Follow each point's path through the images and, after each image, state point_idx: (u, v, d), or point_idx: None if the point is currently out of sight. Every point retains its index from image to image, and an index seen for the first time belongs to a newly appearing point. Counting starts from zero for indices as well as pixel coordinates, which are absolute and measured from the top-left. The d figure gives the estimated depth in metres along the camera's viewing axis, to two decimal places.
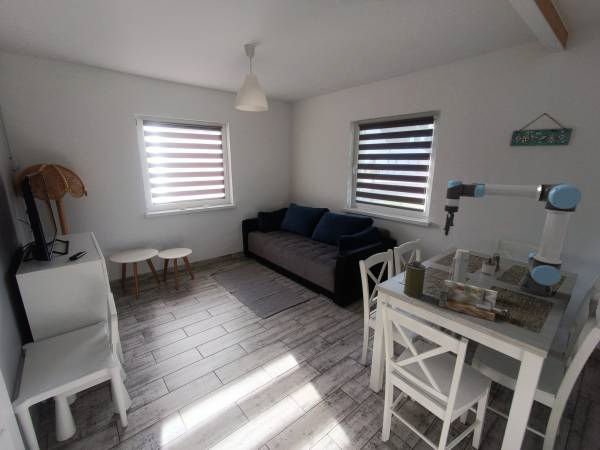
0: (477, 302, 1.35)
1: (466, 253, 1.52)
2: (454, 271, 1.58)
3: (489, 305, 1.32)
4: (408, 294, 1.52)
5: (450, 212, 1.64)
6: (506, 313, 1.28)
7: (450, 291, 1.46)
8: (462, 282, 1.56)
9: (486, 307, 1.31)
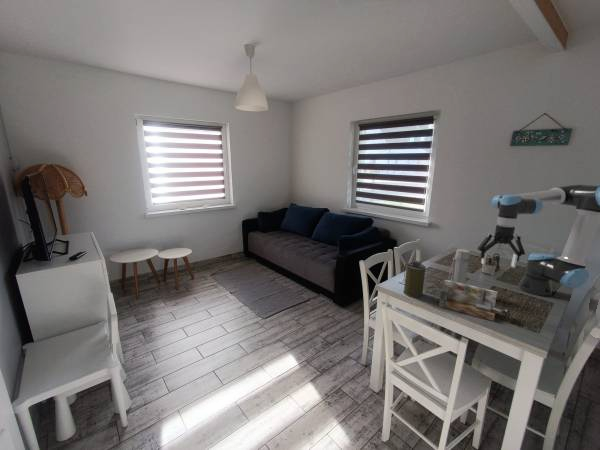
0: (477, 302, 1.35)
1: (466, 253, 1.52)
2: (454, 271, 1.58)
3: (489, 305, 1.32)
4: (408, 294, 1.52)
5: (495, 232, 1.35)
6: (506, 313, 1.28)
7: (450, 291, 1.46)
8: (462, 282, 1.56)
9: (486, 307, 1.31)
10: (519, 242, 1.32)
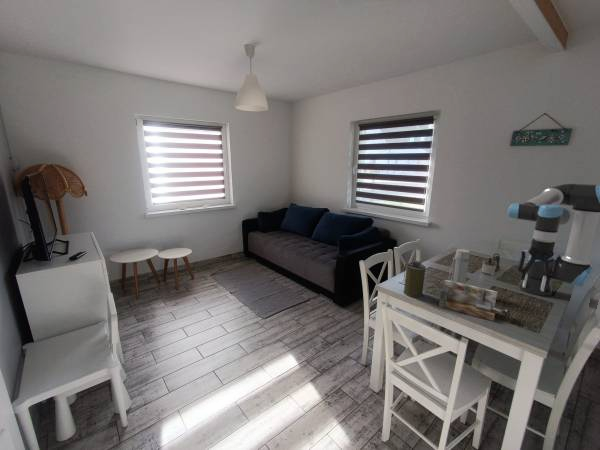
0: (477, 302, 1.35)
1: (466, 253, 1.52)
2: (454, 271, 1.58)
3: (489, 305, 1.32)
4: (408, 294, 1.52)
5: (530, 247, 1.19)
6: (506, 313, 1.28)
7: (450, 291, 1.46)
8: (462, 282, 1.56)
9: (486, 307, 1.31)
10: (556, 263, 1.15)
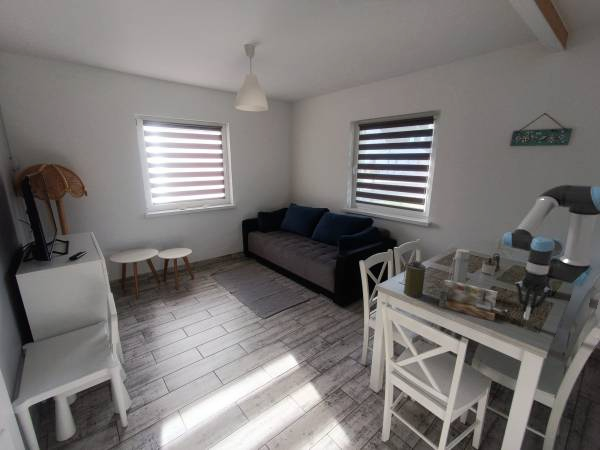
0: (477, 302, 1.35)
1: (466, 253, 1.52)
2: (454, 271, 1.58)
3: (489, 305, 1.32)
4: (408, 294, 1.52)
5: (524, 277, 1.23)
6: (506, 313, 1.28)
7: (450, 291, 1.46)
8: (462, 282, 1.56)
9: (486, 307, 1.31)
10: (545, 295, 1.19)
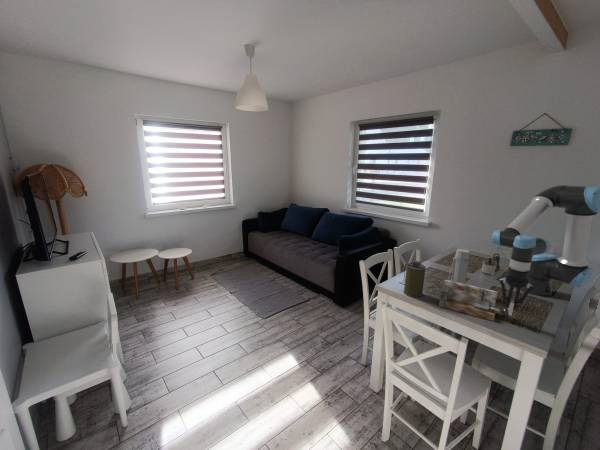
0: (475, 302, 1.35)
1: (466, 253, 1.52)
2: (454, 271, 1.58)
3: (487, 305, 1.32)
4: (408, 294, 1.52)
5: (507, 274, 1.26)
6: (504, 313, 1.28)
7: (450, 291, 1.46)
8: (462, 282, 1.56)
9: (484, 307, 1.32)
10: (527, 291, 1.22)
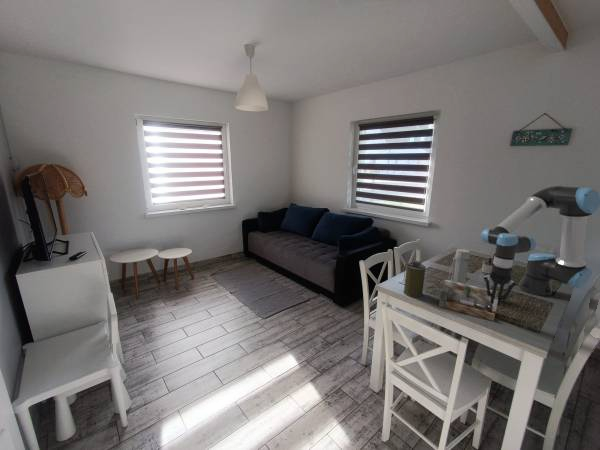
0: (461, 298, 1.38)
1: (466, 253, 1.52)
2: (454, 271, 1.58)
3: (472, 301, 1.36)
4: (408, 294, 1.52)
5: (491, 271, 1.30)
6: (489, 309, 1.32)
7: (450, 291, 1.46)
8: (462, 282, 1.56)
9: (469, 303, 1.35)
10: (510, 287, 1.26)
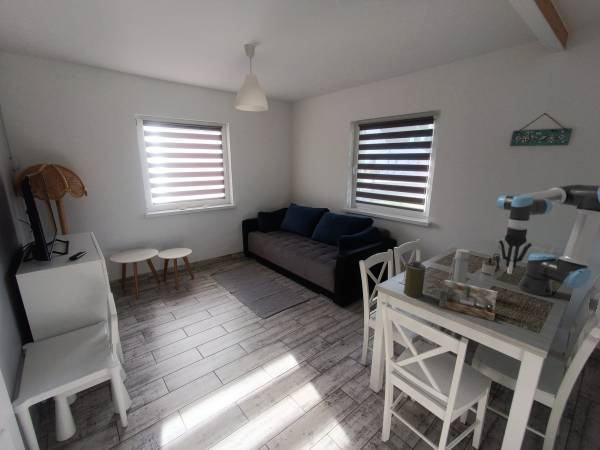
0: (461, 298, 1.38)
1: (466, 253, 1.52)
2: (454, 271, 1.58)
3: (472, 301, 1.36)
4: (408, 294, 1.52)
5: (506, 234, 1.31)
6: (488, 308, 1.32)
7: (450, 291, 1.46)
8: (462, 282, 1.56)
9: (469, 303, 1.35)
10: (526, 249, 1.27)
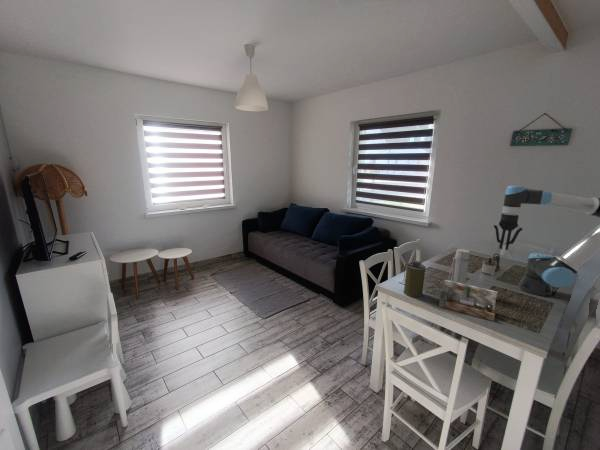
0: (461, 298, 1.38)
1: (466, 253, 1.52)
2: (454, 271, 1.58)
3: (472, 301, 1.36)
4: (408, 294, 1.52)
5: (500, 220, 1.48)
6: (488, 308, 1.32)
7: (450, 291, 1.46)
8: (462, 282, 1.56)
9: (469, 303, 1.35)
10: (517, 232, 1.44)
